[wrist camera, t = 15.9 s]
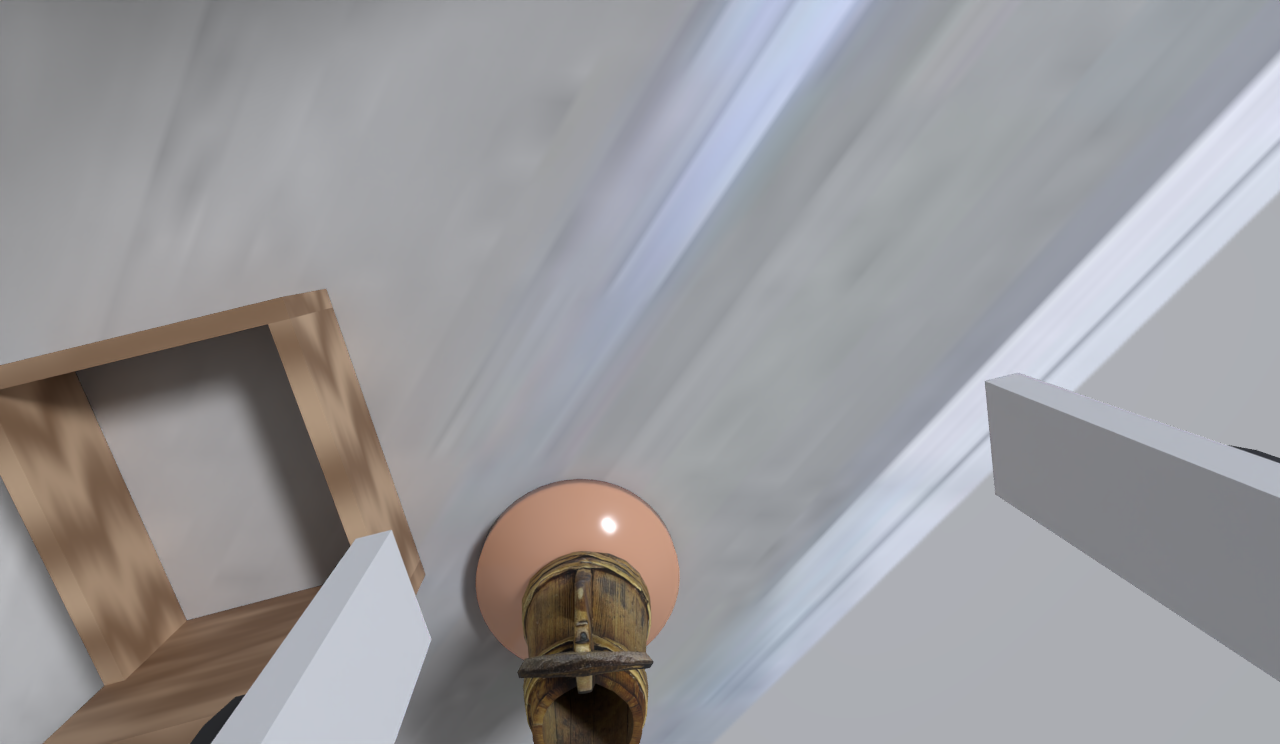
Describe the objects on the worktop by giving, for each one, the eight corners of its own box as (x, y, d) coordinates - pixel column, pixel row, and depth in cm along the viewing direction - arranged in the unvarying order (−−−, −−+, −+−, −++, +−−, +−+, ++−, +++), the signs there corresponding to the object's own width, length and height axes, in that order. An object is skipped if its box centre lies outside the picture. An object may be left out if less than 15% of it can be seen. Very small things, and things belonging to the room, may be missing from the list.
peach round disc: (453, 508, 43) (449, 517, 42) (651, 457, 44) (654, 464, 42) (510, 680, 46) (508, 694, 45) (694, 630, 47) (698, 642, 45)
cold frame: (46, 356, 39) (-184, 406, 27) (326, 288, 40) (219, 308, 28) (176, 640, 43) (26, 788, 32) (425, 574, 44) (369, 695, 32)
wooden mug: (651, 484, 43) (701, 654, 25) (650, 662, 45) (695, 927, 28) (517, 489, 42) (472, 668, 24) (525, 669, 45) (489, 948, 27)
